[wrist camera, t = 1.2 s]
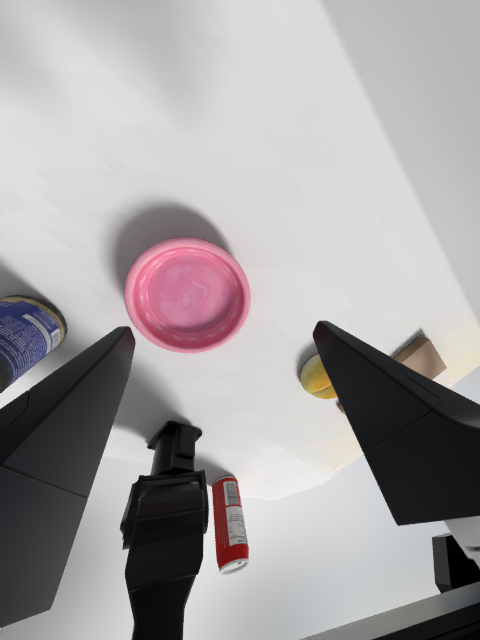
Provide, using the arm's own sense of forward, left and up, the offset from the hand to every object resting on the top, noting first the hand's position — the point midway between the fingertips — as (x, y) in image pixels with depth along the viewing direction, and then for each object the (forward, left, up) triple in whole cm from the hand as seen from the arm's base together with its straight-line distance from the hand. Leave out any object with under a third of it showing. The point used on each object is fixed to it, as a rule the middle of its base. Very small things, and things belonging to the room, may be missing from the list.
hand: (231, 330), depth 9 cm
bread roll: (-1, -25, -14) cm, 29 cm away
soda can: (-34, -30, -14) cm, 47 cm away
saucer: (-3, 0, -14) cm, 14 cm away
